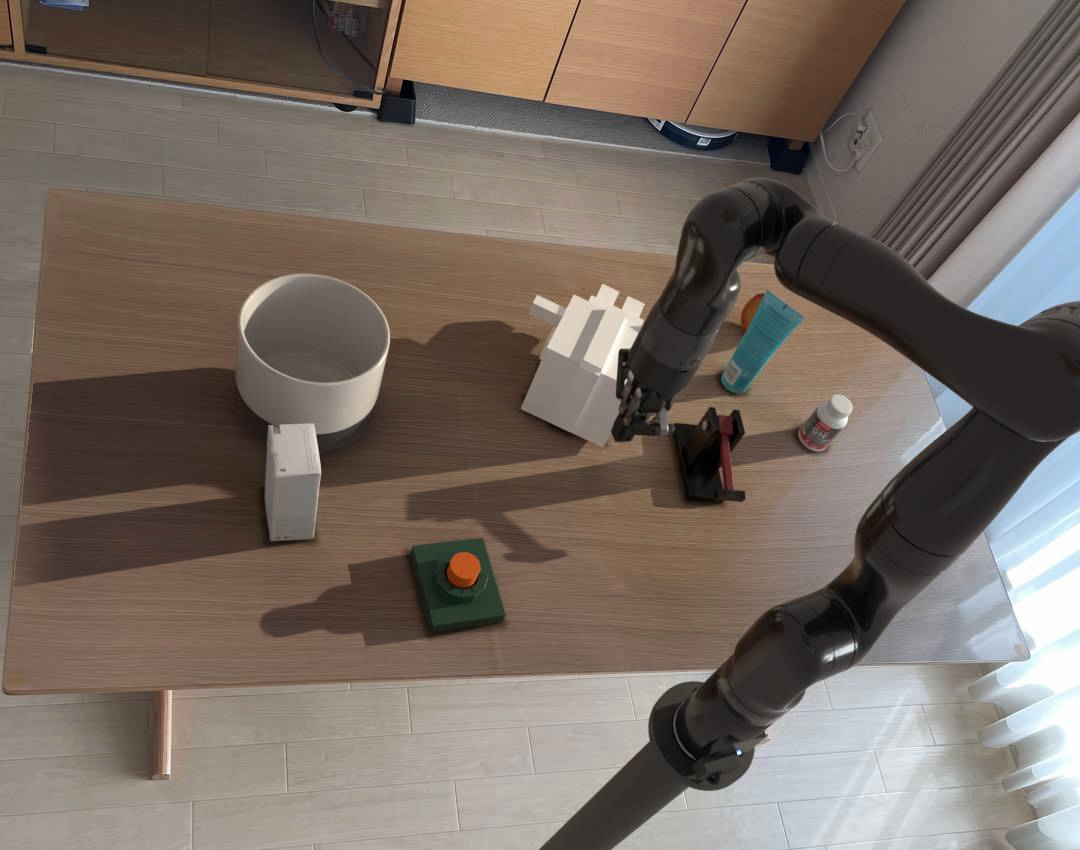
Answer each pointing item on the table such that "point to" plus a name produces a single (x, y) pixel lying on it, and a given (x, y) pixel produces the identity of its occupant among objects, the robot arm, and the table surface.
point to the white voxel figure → (582, 362)
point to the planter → (310, 358)
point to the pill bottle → (825, 423)
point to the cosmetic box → (292, 481)
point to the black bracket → (703, 454)
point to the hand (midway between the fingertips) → (619, 436)
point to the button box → (452, 603)
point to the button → (463, 570)
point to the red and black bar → (727, 463)
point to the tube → (760, 342)
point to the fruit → (750, 310)
